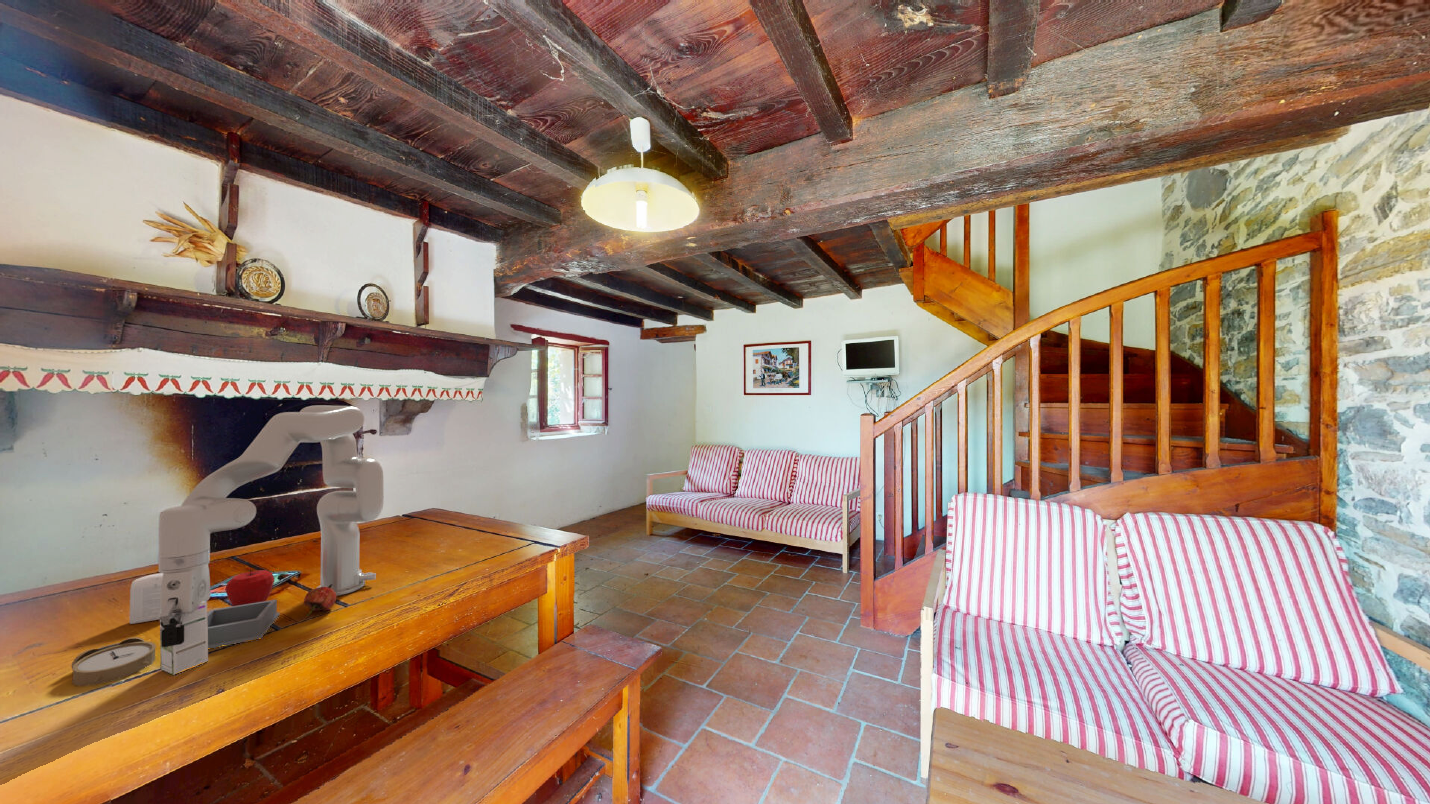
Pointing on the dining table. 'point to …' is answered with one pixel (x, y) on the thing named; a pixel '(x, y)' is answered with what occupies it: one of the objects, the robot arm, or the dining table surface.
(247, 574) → the apple
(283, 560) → the dining table surface
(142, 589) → the photo printer
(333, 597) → the pomegranate
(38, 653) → the dining table surface
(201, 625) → the syrup box
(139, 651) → the alarm clock
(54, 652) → the dining table surface
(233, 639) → the grey square tray
